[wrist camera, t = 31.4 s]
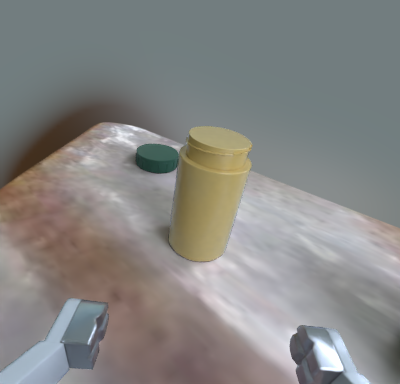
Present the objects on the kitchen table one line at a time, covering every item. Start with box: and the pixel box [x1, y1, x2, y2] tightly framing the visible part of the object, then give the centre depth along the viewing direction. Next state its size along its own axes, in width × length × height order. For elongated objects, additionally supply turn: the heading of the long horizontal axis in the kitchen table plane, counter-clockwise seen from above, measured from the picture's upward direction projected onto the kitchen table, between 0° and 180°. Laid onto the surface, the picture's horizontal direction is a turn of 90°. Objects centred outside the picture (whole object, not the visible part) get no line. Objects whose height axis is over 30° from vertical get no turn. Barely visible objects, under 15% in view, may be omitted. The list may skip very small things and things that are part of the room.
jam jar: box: [168, 126, 252, 262], centre depth 21 cm, size 6×6×11 cm
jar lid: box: [136, 144, 179, 173], centre depth 36 cm, size 6×6×2 cm
